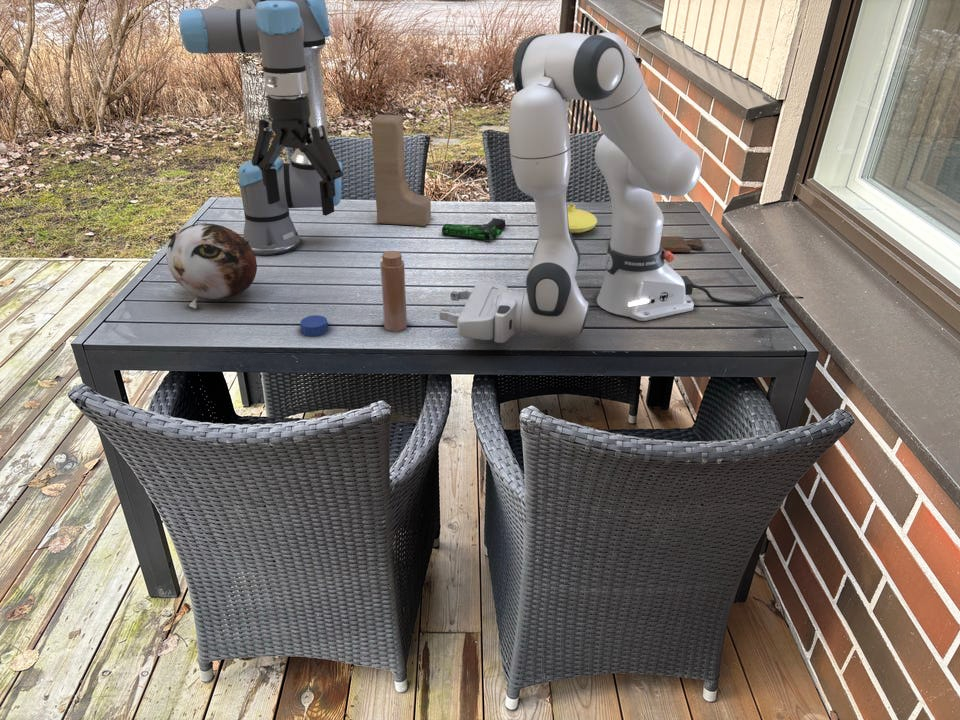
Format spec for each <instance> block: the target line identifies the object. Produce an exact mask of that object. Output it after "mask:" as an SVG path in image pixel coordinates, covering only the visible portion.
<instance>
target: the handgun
mask: <svg viewBox="0 0 960 720" xmlns="http://www.w3.org/2000/svg"><path fill="white" fill-rule="evenodd" d="M505 228H506V220H505V219H503V218H497V217H492V219H491V220H490V221H489V222H488V223H483V224H482V225H479V224H472V225H459V224H453V223H445V224H443V226H442V227H441V235H446V236H454V237H462V238H469V239H470V238H471V239H474V240H479V241H484V242H491V241H492V240H494V239H495V238H497V237H500V236H502V230H504V229H505Z"/></svg>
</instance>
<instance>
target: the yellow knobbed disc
mask: <svg viewBox="0 0 960 720" xmlns="http://www.w3.org/2000/svg"><path fill="white" fill-rule="evenodd" d="M567 212H568V223H569V230H570V233H571V234H580V233H584V232H585V233H586V232H587V231H591V230H592V229H594V228H596V226H597V223H598V219H597V217H596V215H595V214H593V213H591V212H589V211H587V210H584V209H578V208H576V205H575V204H571V203H570V204H567Z"/></svg>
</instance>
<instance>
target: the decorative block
mask: <svg viewBox="0 0 960 720" xmlns="http://www.w3.org/2000/svg"><path fill="white" fill-rule="evenodd" d="M370 122H371V123H370V125H371V141H372V157H373V160H372V161H373V175H374V176H373V177H374V189H375V206H376V222H377V224H384V225H385V224H387V225H401V226H417V227H418V226H419V227H426V226H427V225H428V224H429V222H430V220H431V217H432V207H431V206H432V205H431V201H432V200H431V197H430V196H428V195H423V194H418V193H415V192H414V191H412V190H411V189H410V187H409V185H408V182H407V180H406V168H405V167H406V166H405V143H404V141H405V139H404V118H403V116H402V115H396V114H395V115H394V114H376V116H375V117H373V118H372V119H371V121H370Z"/></svg>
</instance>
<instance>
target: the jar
mask: <svg viewBox="0 0 960 720" xmlns="http://www.w3.org/2000/svg"><path fill="white" fill-rule="evenodd" d="M381 259H382V260H381V261H380V262H379V264H380V265H379V267H380V280H381V281H380V282H381V283H380V284H381V298H382V314H383V316H382V317H383V327H384V329H385V330H386V331H389V332H401V331H404V330H406V329H407V327H408V317H407V315H408V314H407V294H406V291H407V290H406V271H405V270H406V268H405V261H404V260H403V257H402V253H401V252H399V251H397V250H389V251H385V252H383V253H382V255H381Z"/></svg>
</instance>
